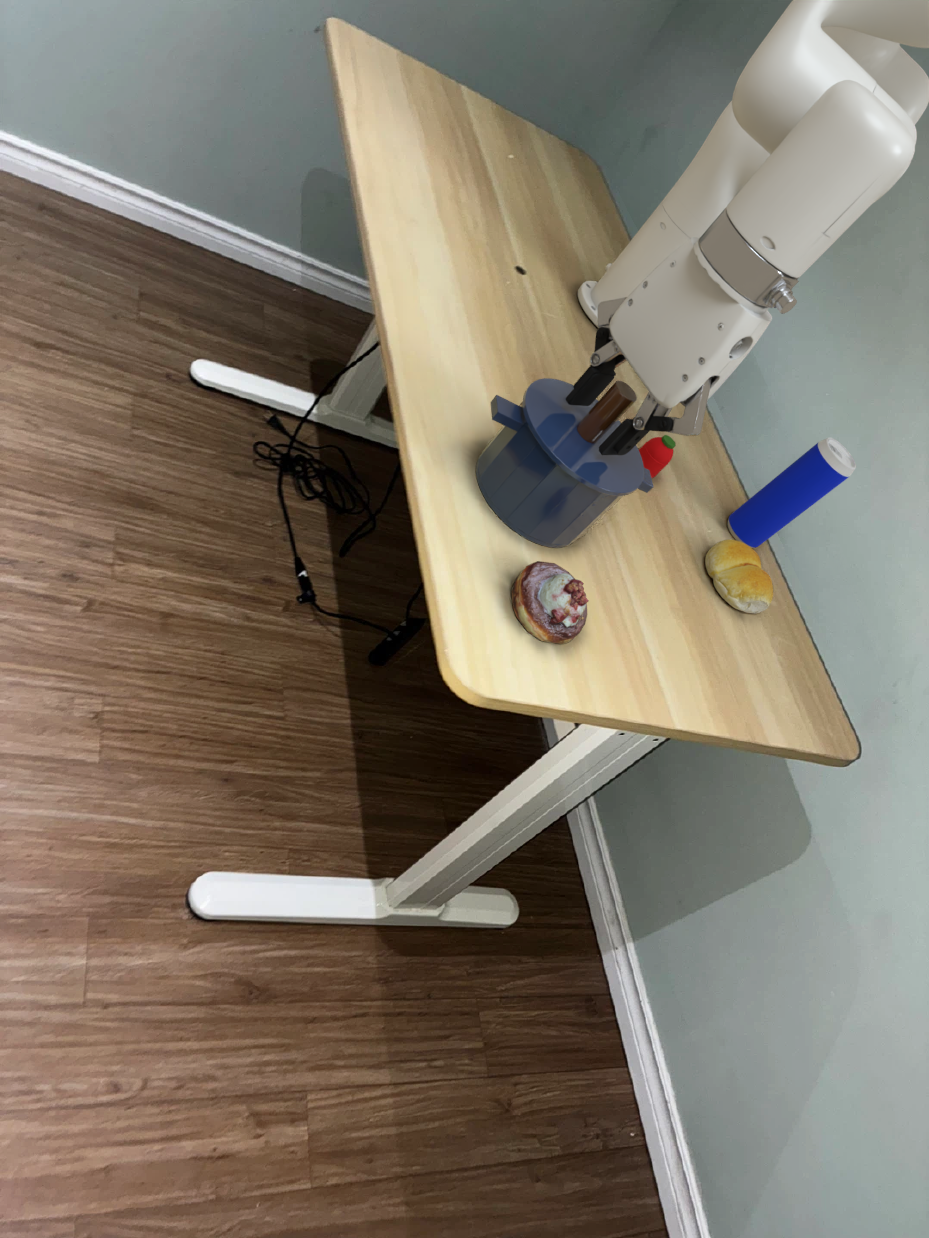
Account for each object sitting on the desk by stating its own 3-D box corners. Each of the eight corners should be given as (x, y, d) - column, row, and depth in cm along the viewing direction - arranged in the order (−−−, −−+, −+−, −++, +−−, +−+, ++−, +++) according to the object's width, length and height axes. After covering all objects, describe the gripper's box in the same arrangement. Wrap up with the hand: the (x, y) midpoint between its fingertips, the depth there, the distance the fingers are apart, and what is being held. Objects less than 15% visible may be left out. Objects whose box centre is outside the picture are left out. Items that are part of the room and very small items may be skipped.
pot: (449, 418, 80) (497, 353, 74) (592, 484, 88) (645, 430, 82) (453, 510, 72) (506, 446, 67) (609, 573, 80) (669, 521, 75)
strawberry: (629, 450, 97) (655, 424, 94) (652, 461, 98) (678, 436, 95) (634, 471, 95) (660, 445, 92) (657, 482, 96) (684, 457, 93)
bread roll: (737, 556, 97) (763, 536, 94) (766, 619, 92) (794, 600, 90) (690, 543, 92) (716, 522, 90) (719, 609, 88) (747, 588, 85)
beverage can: (755, 532, 103) (855, 453, 93) (756, 557, 99) (860, 479, 89) (724, 510, 102) (823, 428, 92) (724, 534, 98) (827, 452, 88)
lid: (513, 365, 76) (555, 310, 72) (624, 422, 82) (669, 375, 77) (524, 465, 68) (573, 409, 63) (647, 520, 74) (699, 473, 69)
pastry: (540, 656, 68) (577, 624, 65) (491, 583, 70) (524, 549, 66) (592, 631, 74) (629, 601, 70) (546, 565, 75) (579, 533, 72)
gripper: (831, 350, 61) (665, 500, 74) (707, 196, 66) (571, 360, 79) (787, 341, 56) (616, 504, 68) (656, 175, 61) (519, 355, 74)
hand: (593, 426), depth 73 cm, fingers open, 5 cm apart
